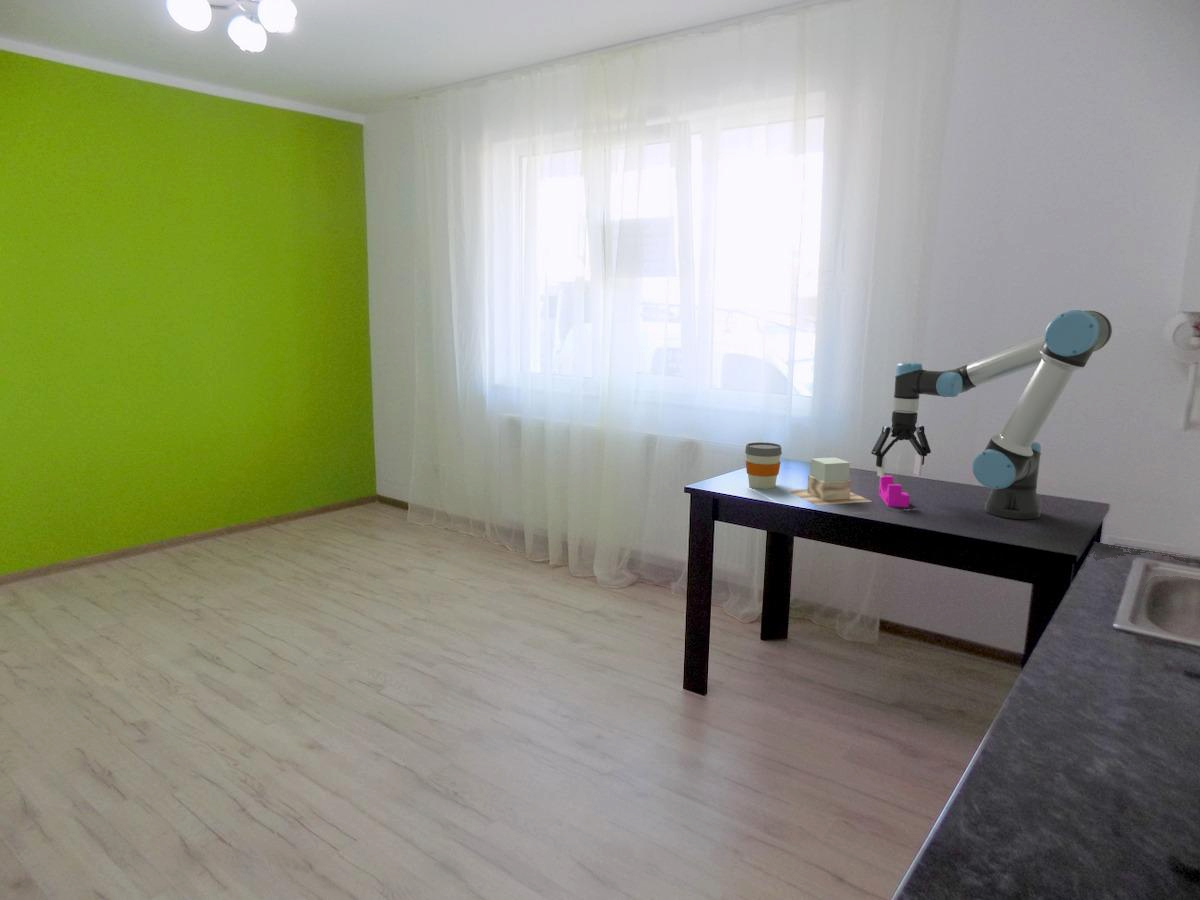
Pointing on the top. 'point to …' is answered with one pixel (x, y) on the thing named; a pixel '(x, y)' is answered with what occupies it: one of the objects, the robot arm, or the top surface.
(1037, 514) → the robot arm
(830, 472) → the tower top
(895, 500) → the toy block
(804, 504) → the top surface
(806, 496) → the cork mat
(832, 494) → the tower base
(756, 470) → the reusable coffee cup
